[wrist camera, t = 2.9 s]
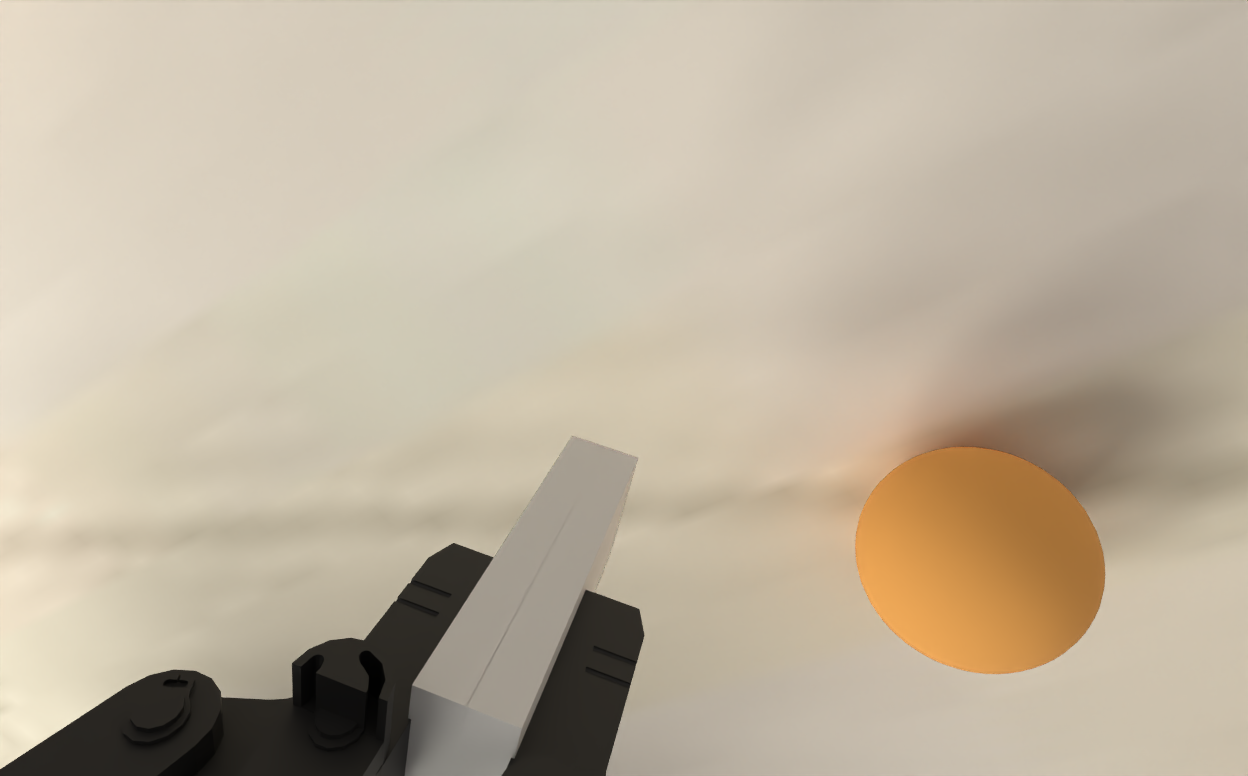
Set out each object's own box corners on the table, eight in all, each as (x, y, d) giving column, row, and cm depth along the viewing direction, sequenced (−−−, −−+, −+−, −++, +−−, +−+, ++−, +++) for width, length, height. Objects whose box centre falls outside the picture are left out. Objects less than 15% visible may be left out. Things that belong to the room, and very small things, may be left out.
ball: (996, 595, 20) (1062, 759, 15) (820, 536, 20) (829, 675, 16) (1096, 448, 17) (1215, 587, 13) (892, 385, 18) (930, 494, 13)
